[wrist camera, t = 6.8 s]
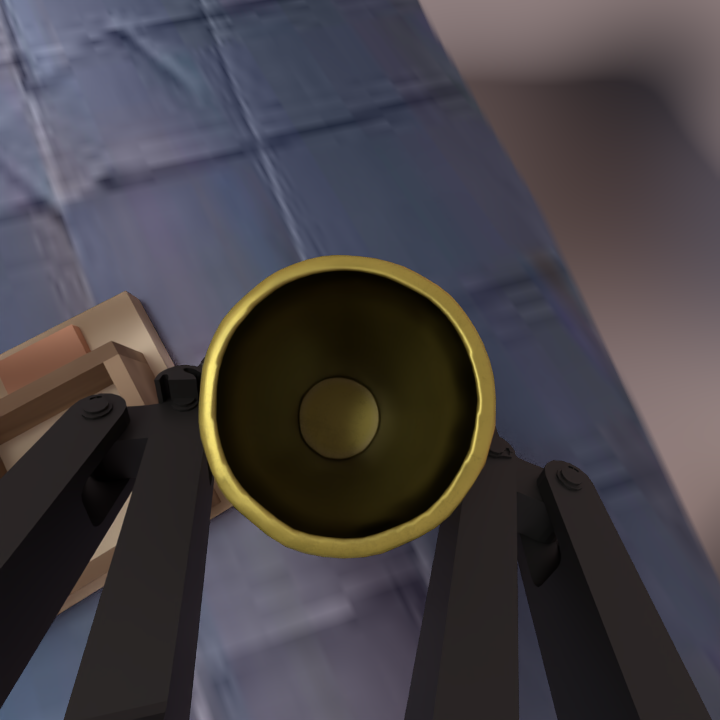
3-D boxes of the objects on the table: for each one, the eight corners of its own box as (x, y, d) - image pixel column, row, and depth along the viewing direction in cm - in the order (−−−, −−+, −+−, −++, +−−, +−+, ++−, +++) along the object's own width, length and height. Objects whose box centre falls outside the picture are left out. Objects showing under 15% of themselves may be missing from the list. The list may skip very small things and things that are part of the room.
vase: (302, 493, 20) (221, 655, 6) (268, 382, 20) (125, 282, 6) (410, 453, 20) (581, 509, 6) (373, 348, 21) (450, 192, 7)
